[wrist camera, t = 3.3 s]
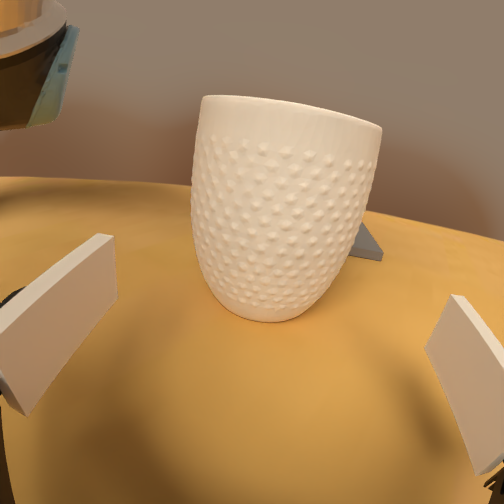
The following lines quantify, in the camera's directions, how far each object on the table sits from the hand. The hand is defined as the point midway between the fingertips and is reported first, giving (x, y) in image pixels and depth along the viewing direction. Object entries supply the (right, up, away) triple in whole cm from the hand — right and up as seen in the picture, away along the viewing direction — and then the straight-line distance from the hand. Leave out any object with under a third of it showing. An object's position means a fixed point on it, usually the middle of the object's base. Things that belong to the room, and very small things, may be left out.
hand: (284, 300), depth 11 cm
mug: (0, -1, +12) cm, 13 cm away
